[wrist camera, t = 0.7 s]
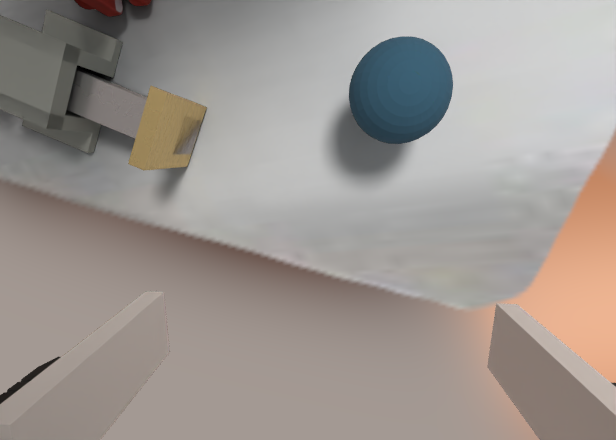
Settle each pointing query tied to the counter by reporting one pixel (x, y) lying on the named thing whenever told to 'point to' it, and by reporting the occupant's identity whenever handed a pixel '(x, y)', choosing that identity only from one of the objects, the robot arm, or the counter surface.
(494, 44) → the counter surface
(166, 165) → the shaft
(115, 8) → the toy fire truck
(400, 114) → the teal egg
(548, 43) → the counter surface
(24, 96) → the housing
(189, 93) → the counter surface
